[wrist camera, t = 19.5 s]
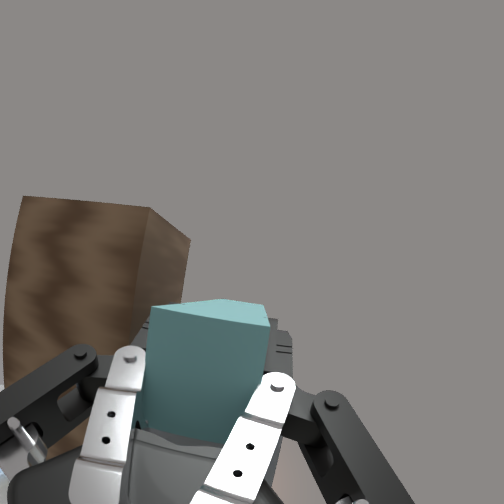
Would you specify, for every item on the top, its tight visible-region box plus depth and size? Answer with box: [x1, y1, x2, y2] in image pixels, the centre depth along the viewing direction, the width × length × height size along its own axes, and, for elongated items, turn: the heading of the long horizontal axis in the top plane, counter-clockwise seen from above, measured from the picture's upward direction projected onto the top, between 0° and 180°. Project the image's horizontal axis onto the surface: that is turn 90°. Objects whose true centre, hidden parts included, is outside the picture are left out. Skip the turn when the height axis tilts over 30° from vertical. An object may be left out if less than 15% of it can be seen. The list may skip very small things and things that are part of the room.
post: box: [3, 196, 191, 460], centre depth 23 cm, size 12×12×32 cm
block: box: [142, 299, 270, 444], centre depth 19 cm, size 4×20×4 cm, turn 179°
